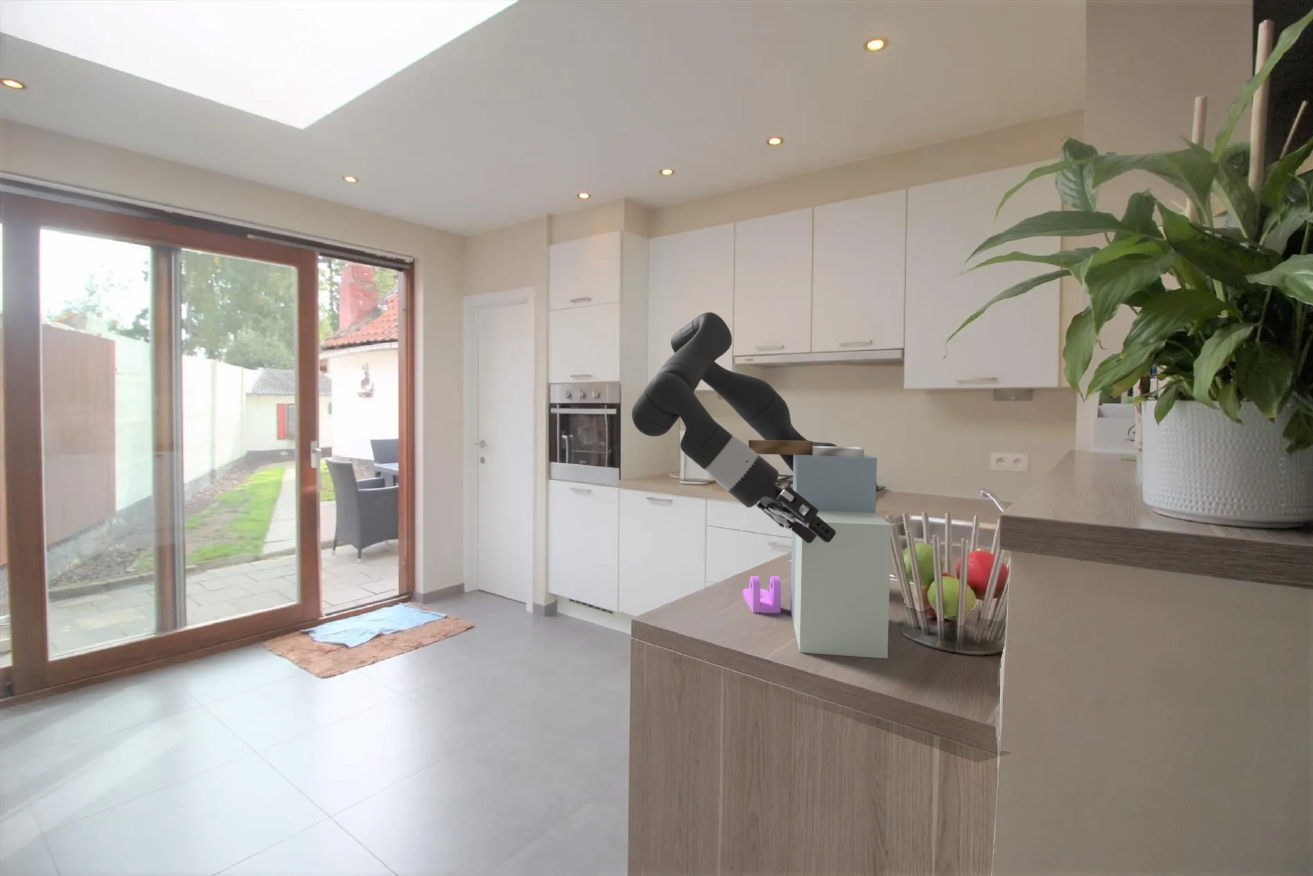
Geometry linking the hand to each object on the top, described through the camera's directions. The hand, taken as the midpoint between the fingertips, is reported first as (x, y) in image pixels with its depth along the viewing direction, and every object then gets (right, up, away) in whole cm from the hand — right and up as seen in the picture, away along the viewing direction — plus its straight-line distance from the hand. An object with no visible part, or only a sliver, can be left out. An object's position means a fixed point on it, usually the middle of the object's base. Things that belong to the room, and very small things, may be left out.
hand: (822, 538), depth 92 cm
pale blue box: (+7, -20, +17) cm, 27 cm away
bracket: (-4, -19, +33) cm, 38 cm away
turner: (+3, +12, +22) cm, 25 cm away
